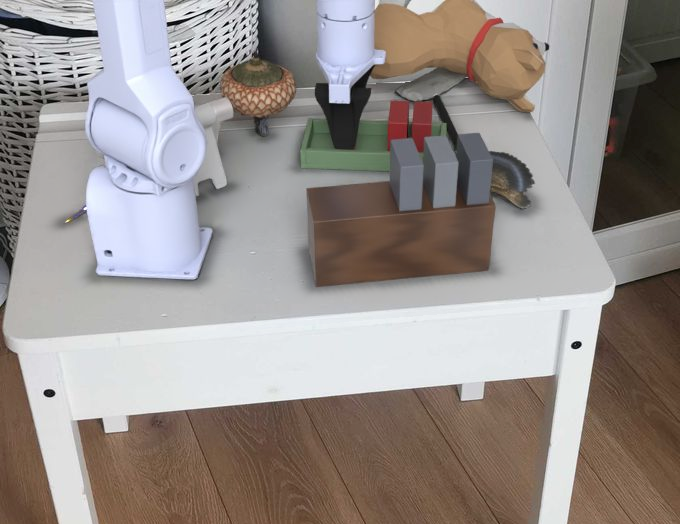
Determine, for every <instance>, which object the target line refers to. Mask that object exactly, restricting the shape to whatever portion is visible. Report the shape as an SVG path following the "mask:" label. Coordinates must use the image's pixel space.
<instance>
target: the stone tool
mask: <svg viewBox="0 0 680 524" xmlns="http://www.w3.org/2000/svg"><path fill="white" fill-rule="evenodd" d="M466 78H468V77H467V75H464V74H460V73H456V72H452V71H449V70H447V69H445V68H443V67H435V68H434V69H433V70H430V71H429V72H426V73H424V74H422V75H421V76H419V77H417V78H415V79H412V80H410V81H409V82H407V83H406V84H404V85H401V86H400V87H398V88H396V89H395V92H397V93H398V94H399V95H400V96H401V97H402V98H404V99H407V101H413V102H415V101H419V102H422V101H424V100H425V101H426V100H430V99H433V97H434V95H435V94H438V95H439V96H440V95H441V94H442V93H444V92H447V91H450V90H451V89H452V88H453V87H455V86H457V85H458V84H460V83H461V82H462V81H463V80H465V79H466Z"/></svg>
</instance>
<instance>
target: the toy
mask: <svg viewBox="0 0 680 524" xmlns="http://www.w3.org/2000/svg"><path fill="white" fill-rule="evenodd" d="M411 1H412V0H379V1H378V4H377V6H376V7H375V21H374V49H376V50H384V51H385V52H386V59H385V63H384V64H375V67H374V68H373V70H372V72H371V74H370V76H369V77H371V78H372V80H387V79H390V78H396V77H402V76H408V75H413V74H416V73H418V72H421V71H423V70H424V69H431V68H434V69H436V68H437V67H443V68H445V69H447V70H449V71H452V72H456V73H460V74H464V75H467V77H466V78H467V79H468V80H470V81H471V82H474V83H476V84H477V86H478V87H479V88H480V90H481V91H482V92H484V93H485V94H486V95H488V96H489V97H492V98H494V99H497V100H499V99H501V100H506V101H508V102H509V104H510V105H512V106H513V108H514V109H516V111H518V112H521V113H533V112H534V110H535V108H536V104H535V103H534V102H532V100H531V99H530V98H529V97H527V96H526V94H527V93H528V92H529V91H530V90H531V89H532V88H533V87H534V86H535V85H536V84H537V83H538V82H539V81H540V80H541V78H542V77H543V76H544V74H545V73H546V72H545V71H546V61H545V59H544V58H543V57H544V54H545V52H547V51H549V50H550V47H551V46H550V44H549V43H548V42H542V41H540V40H538V39H536V38H535V37H534V36H533V34H531V32H530V31H529V30H527V29H525V28H523V27H521V26H520V25H518V24H516V23H514V22H504V19H502V18H501V17H495V15H492V14H491V13H489V12H488V11H486V10H485V9H483V7H482V6H481V5H480V4H479V3H478V2H477V0H444V1H442V2H441V3H440V4H439V5H438V6H437V7H435V8H434V9H433V10H432V11H426V12H424V13H421V14H418V13H416V12H414V11H412V10H410V9H409V8H408V6H409V4H410V3H411Z"/></svg>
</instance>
